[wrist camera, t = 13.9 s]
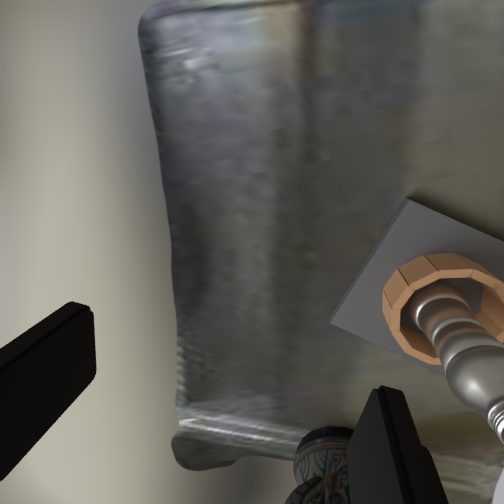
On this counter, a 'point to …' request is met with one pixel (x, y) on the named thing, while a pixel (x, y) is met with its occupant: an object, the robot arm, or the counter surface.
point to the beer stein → (322, 467)
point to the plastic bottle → (463, 350)
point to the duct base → (405, 248)
